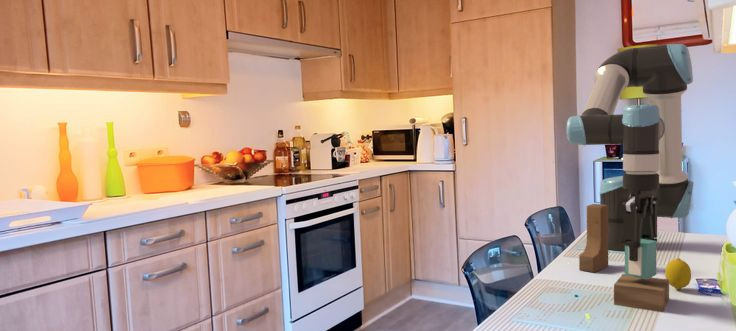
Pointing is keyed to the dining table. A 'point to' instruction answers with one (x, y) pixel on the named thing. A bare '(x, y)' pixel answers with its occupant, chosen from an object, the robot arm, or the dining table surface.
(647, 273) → the teal block
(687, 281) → the lemon
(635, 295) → the walnut base block
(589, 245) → the wooden block
